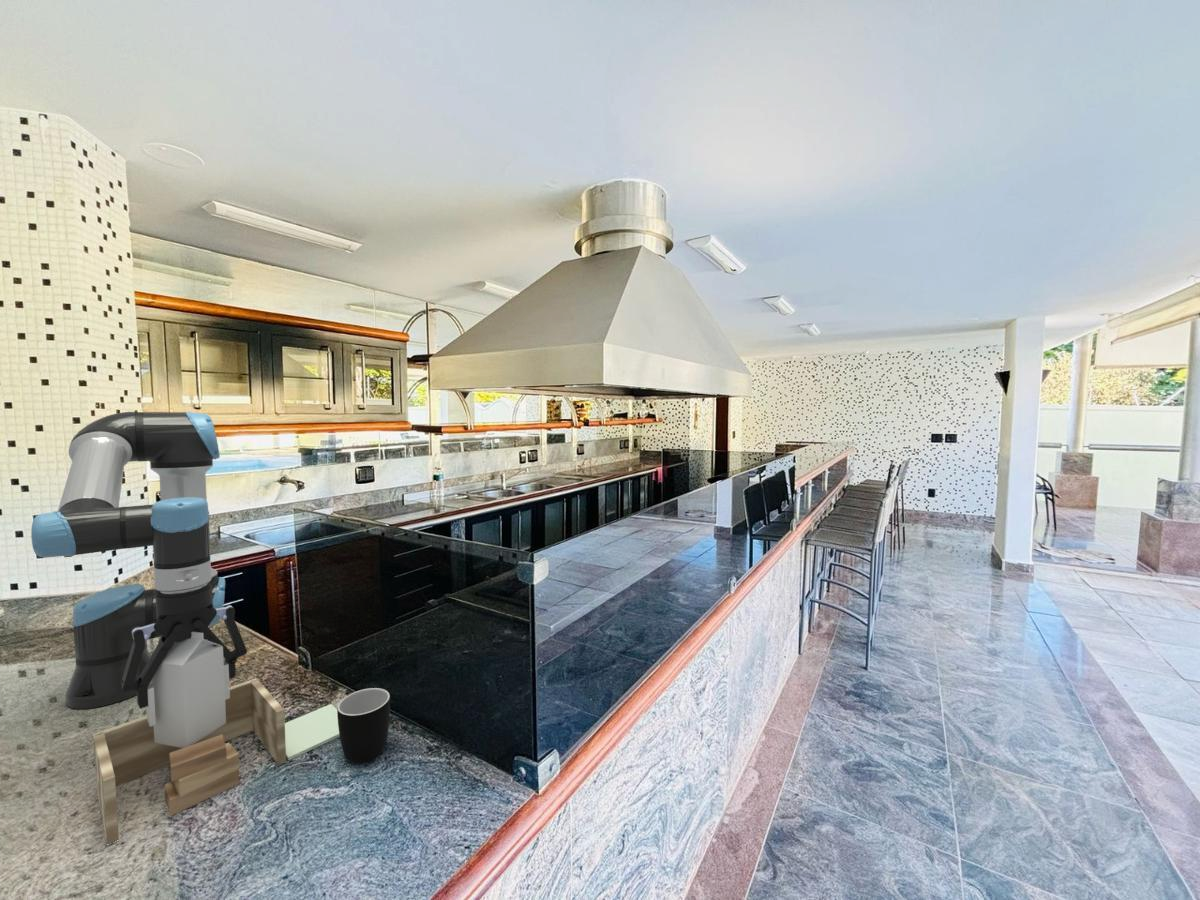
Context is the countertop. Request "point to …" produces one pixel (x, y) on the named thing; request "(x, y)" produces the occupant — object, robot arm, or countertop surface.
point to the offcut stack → (201, 773)
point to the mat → (311, 731)
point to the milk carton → (189, 692)
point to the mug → (364, 724)
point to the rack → (137, 754)
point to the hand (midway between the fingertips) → (190, 708)
